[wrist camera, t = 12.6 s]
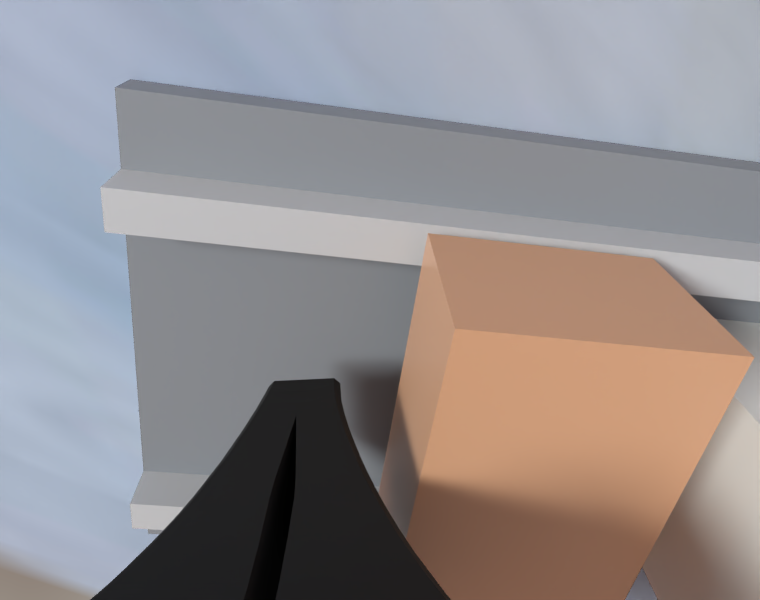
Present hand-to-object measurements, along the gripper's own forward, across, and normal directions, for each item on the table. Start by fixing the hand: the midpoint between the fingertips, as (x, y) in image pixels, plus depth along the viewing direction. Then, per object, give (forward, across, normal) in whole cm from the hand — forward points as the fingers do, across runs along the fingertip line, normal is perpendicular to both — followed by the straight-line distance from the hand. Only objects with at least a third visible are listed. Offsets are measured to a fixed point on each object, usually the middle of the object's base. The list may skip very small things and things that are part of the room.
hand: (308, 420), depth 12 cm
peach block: (0, -4, +1) cm, 4 cm away
